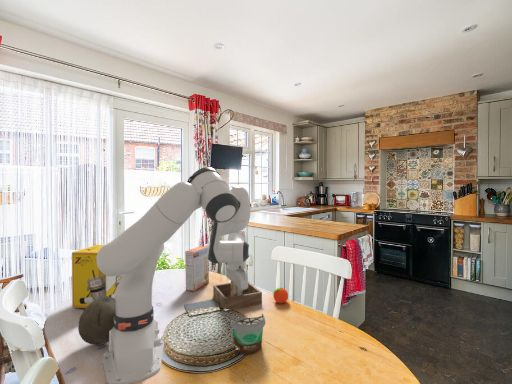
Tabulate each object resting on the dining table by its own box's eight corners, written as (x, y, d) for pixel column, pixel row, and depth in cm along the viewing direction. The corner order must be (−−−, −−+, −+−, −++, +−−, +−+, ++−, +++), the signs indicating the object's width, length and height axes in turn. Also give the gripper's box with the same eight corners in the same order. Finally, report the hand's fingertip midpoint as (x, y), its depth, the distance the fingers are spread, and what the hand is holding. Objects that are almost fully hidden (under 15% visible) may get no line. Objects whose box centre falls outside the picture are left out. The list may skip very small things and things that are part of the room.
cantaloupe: (86, 288, 95) (62, 334, 89) (103, 298, 86) (78, 349, 81) (120, 296, 105) (101, 338, 99) (140, 305, 96) (120, 351, 90)
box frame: (261, 304, 123) (261, 292, 123) (224, 311, 116) (224, 299, 116) (246, 290, 140) (246, 280, 139) (213, 296, 132) (213, 285, 132)
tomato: (275, 307, 120) (275, 291, 120) (268, 301, 126) (268, 286, 126) (291, 304, 123) (291, 289, 123) (283, 298, 129) (283, 284, 129)
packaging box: (106, 308, 119) (106, 253, 118) (72, 307, 120) (71, 252, 120) (126, 294, 135) (126, 245, 134) (96, 293, 136) (96, 244, 136)
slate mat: (221, 310, 117) (221, 309, 117) (189, 316, 111) (189, 315, 111) (213, 299, 128) (213, 299, 128) (184, 305, 122) (184, 304, 122)
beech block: (242, 301, 126) (242, 282, 126) (234, 302, 125) (233, 283, 124) (239, 297, 131) (239, 279, 130) (230, 299, 129) (230, 280, 129)
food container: (236, 360, 83) (236, 328, 83) (230, 349, 88) (230, 319, 88) (271, 351, 88) (271, 320, 88) (263, 341, 93) (263, 312, 93)
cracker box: (200, 281, 153) (200, 245, 153) (209, 283, 151) (209, 246, 150) (184, 290, 140) (184, 250, 140) (194, 291, 138) (194, 251, 138)
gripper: (251, 269, 119) (251, 299, 119) (235, 258, 138) (235, 284, 138) (238, 270, 117) (238, 302, 117) (223, 259, 135) (223, 286, 135)
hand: (236, 292), depth 128 cm, fingers closed on beech block, 4 cm apart
